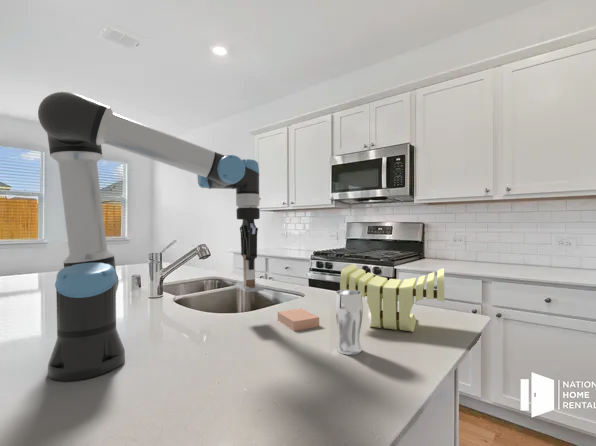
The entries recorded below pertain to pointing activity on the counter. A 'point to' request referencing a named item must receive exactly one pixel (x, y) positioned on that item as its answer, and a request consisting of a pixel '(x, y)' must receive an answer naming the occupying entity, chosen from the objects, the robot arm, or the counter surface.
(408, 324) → the slatted curved stool
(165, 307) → the counter surface
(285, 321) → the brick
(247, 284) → the trowel
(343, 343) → the beer glass
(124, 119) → the robot arm
